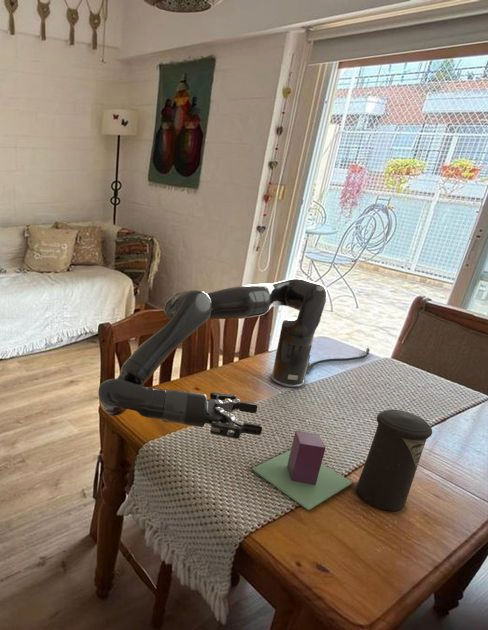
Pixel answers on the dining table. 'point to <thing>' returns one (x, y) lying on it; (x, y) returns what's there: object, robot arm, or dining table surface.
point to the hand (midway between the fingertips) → (259, 418)
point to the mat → (298, 491)
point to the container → (393, 459)
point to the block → (306, 457)
